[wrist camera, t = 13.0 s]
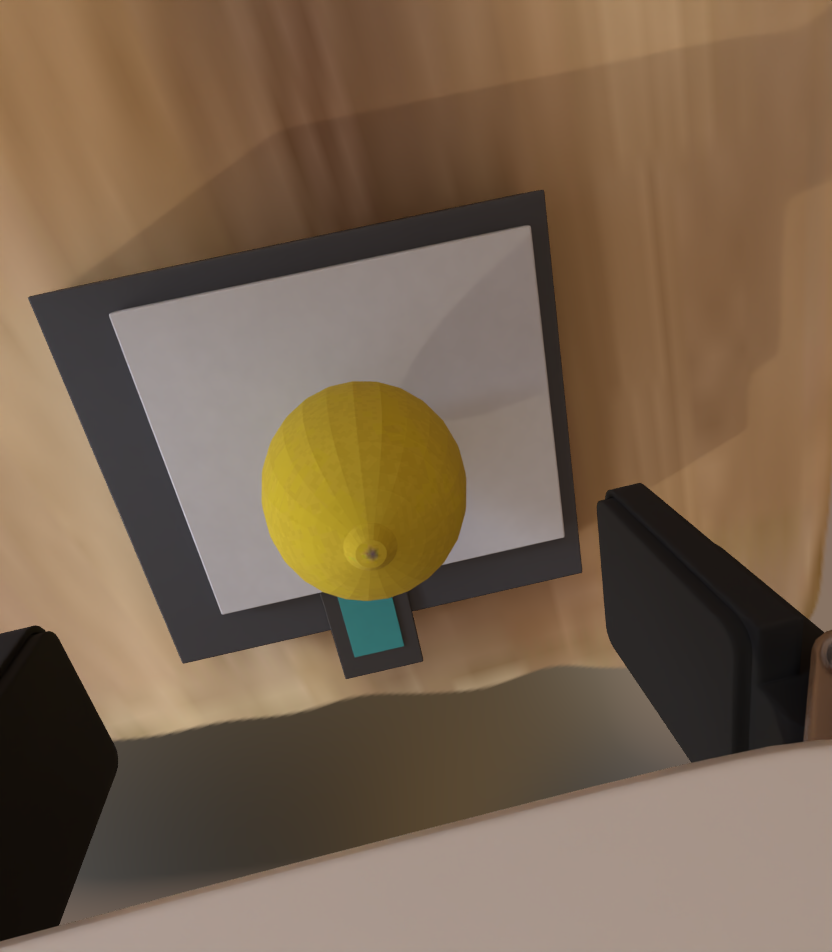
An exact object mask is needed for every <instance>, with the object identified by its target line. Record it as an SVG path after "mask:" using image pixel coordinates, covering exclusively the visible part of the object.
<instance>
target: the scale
mask: <svg viewBox="0 0 832 952" xmlns="http://www.w3.org/2000/svg"><path fill="white" fill-rule="evenodd" d="M28 299H29V301H30V304H31V306H32V308H33V311H34V313H35V316H36V318H37V320H38V323H39V325H40V327H41V330H42V332H43V334H44V337H45V339H46V342H47V344H48V346H49V349H50V351H51V353H52V356H53V358H54V360H55V363H56V365H57V368H58V370H59V372H60V375H61V377H62V379H63V382H64V384H65V386H66V389H67V391H68V394H69V396H70V398H71V401H72V403H73V405H74V408H75V410H76V412H77V415H78V417H79V420H80V422H81V424H82V427H83V429H84V431H85V434H86V436H87V438H88V441H89V443H90V446H91V448H92V450H93V453H94V455H95V457H96V460H97V462H98V464H99V467H100V469H101V472H102V474H103V476H104V479H105V481H106V483H107V486H108V488H109V490H110V493H111V495H112V498H113V500H114V502H115V505H116V507H117V509H118V512H119V514H120V516H121V519H122V521H123V524H124V526H125V528H126V531H127V533H128V535H129V538H130V540H131V542H132V545H133V547H134V550H135V552H136V554H137V557H138V559H139V561H140V564H141V566H142V568H143V571H144V573H145V576H146V578H147V580H148V583H149V585H150V587H151V590H152V592H153V594H154V597H155V599H156V602H157V604H158V606H159V609H160V611H161V613H162V616H163V618H164V620H165V623H166V625H167V628H168V630H169V632H170V635H171V637H172V639H173V642H174V644H175V647H176V649H177V651H178V654H179V656H180V658H181V661H182V663H188V662H192V661H197V660H201V659H206V658H210V657H214V656H219V655H223V654H227V653H232V652H236V651H241V650H245V649H249V648H254V647H258V646H262V645H267V644H271V643H276V642H280V641H284V640H289V639H293V638H298V637H302V636H306V635H311V634H315V633H319V632H324V631H328V630H331V632H332V635H333V638H334V642H335V645H336V648H337V652H338V655H339V658H340V662H341V665H342V668H343V672H344V675H345V678H346V679H349V678H353V677H357V676H362V675H366V674H370V673H375V672H379V671H383V670H388V669H392V668H396V667H401V666H405V665H409V664H414V663H418V662H422V661H423V656H422V652H421V648H420V644H419V639H418V635H417V631H416V626H415V622H414V618H413V613H412V611H416V610H420V609H425V608H429V607H433V606H438V605H442V604H446V603H451V602H455V601H460V600H464V599H468V598H473V597H477V596H482V595H486V594H490V593H495V592H499V591H503V590H508V589H512V588H517V587H521V586H525V585H530V584H534V583H538V582H543V581H547V580H552V579H556V578H560V577H565V576H569V575H574V574H578V573H582V564H581V554H580V544H579V534H578V524H577V514H576V504H575V494H574V484H573V474H572V464H571V454H570V444H569V435H568V425H567V415H566V405H565V395H564V385H563V375H562V365H561V355H560V345H559V335H558V325H557V315H556V305H555V295H554V285H553V275H552V265H551V255H550V245H549V235H548V225H547V215H546V205H545V195H544V190H538V191H532V192H527V193H521V194H517V195H512V196H507V197H502V198H497V199H493V200H488V201H483V202H478V203H473V204H469V205H464V206H459V207H454V208H449V209H445V210H440V211H435V212H430V213H425V214H421V215H416V216H411V217H406V218H401V219H397V220H392V221H387V222H382V223H377V224H373V225H368V226H363V227H358V228H353V229H349V230H344V231H339V232H334V233H329V234H325V235H320V236H315V237H310V238H305V239H301V240H296V241H291V242H286V243H281V244H277V245H272V246H267V247H262V248H257V249H253V250H248V251H243V252H238V253H233V254H229V255H224V256H219V257H214V258H209V259H205V260H200V261H195V262H190V263H185V264H181V265H176V266H171V267H166V268H161V269H157V270H152V271H147V272H142V273H137V274H133V275H128V276H123V277H118V278H113V279H109V280H104V281H99V282H94V283H89V284H85V285H80V286H75V287H70V288H65V289H61V290H56V291H52V292H47V293H43V294H38V295H34V296H30V297H28ZM351 381H373V382H380V383H384V384H388V385H392V386H395V387H399V388H401V389H403V390H405V391H407V392H409V393H410V394H412V395H414V396H416V397H417V398H419V399H421V400H423V401H424V402H425V403H426V404H427V405H428V406H429V407H430V408H431V409H432V410H433V411H434V412H435V413H436V414H437V415H438V416H439V417H440V418H441V419H442V420H443V421H444V423H445V424H446V426H447V428H448V429H449V431H450V433H451V434H452V436H453V438H454V439H455V441H456V443H457V444H458V447H459V450H460V454H461V457H462V461H463V465H464V469H465V472H466V512H465V516H464V519H463V523H462V527H461V530H460V534H459V537H458V540H457V542H456V543H455V545H454V547H453V548H452V550H451V552H450V554H449V555H448V557H447V559H446V560H445V562H444V563H443V564H442V565H441V566H440V567H439V568H438V569H437V570H436V571H435V572H434V573H433V574H432V575H431V576H430V577H429V578H428V579H427V580H425V581H423V582H422V583H420V584H419V585H417V586H416V587H414V588H413V589H411V590H409V591H407V592H404V593H402V594H399V595H396V596H393V597H391V598H387V599H379V600H372V601H361V600H348V599H344V598H340V597H337V596H334V595H331V594H328V593H324V592H322V591H320V590H319V589H317V588H315V587H314V586H312V585H310V584H309V583H307V582H305V581H304V580H303V579H302V578H301V577H300V576H299V575H298V574H297V573H296V572H295V571H294V570H293V569H292V568H291V567H289V566H288V564H287V563H286V562H285V561H284V559H283V558H282V556H281V554H280V553H279V551H278V549H277V548H276V546H275V544H274V543H273V541H272V539H271V537H270V534H269V531H268V527H267V523H266V519H265V515H264V512H263V508H262V469H263V465H264V462H265V459H266V455H267V452H268V449H269V445H270V443H271V440H272V438H273V437H274V435H275V434H276V432H277V431H278V429H279V428H280V426H281V424H282V423H283V421H284V420H285V418H286V417H287V416H288V415H289V414H290V413H291V412H292V411H293V410H294V409H295V408H297V407H298V406H299V405H300V404H301V403H302V402H303V401H304V400H305V399H307V398H308V397H310V396H312V395H314V394H316V393H318V392H320V391H322V390H323V389H325V388H327V387H330V386H334V385H338V384H342V383H347V382H351Z"/></svg>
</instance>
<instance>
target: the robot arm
mask: <svg viewBox="0 0 832 952" xmlns="http://www.w3.org/2000/svg"><path fill="white" fill-rule="evenodd" d="M597 518H598V531H599V543H600V556H601V568H602V581H603V594H604V606H605V619H606V628H607V633H608V636H609V639H610V641H611V644H612V645H613V647H614V649H615V650H616V652H617V653H618V655H619V656H620V658H621V659H622V661H623V662H624V664H625V665H626V667H627V668H628V670H629V671H630V673H631V674H632V675H633V677H634V678H635V680H636V681H637V683H638V684H639V686H640V687H641V689H642V690H643V692H644V693H645V695H646V696H647V698H648V699H649V700H650V702H651V704H652V705H653V706H654V708H655V709H656V711H657V712H658V714H659V715H660V717H661V718H662V720H663V721H664V723H665V724H666V726H667V727H668V729H669V730H670V732H671V733H672V735H673V736H674V738H675V739H676V741H677V742H678V744H679V745H680V746H681V748H682V749H683V751H684V752H685V754H686V755H687V757H688V758H689V760H690V761H691V763H688V764H684V765H679V766H675V767H671V768H667V769H663V770H659V771H655V772H651V773H647V774H643V775H639V776H635V777H631V778H627V779H623V780H618V781H614V782H610V783H606V784H602V785H597V786H593V787H589V788H585V789H581V790H578V791H574V792H570V793H566V794H562V795H558V796H554V797H550V798H547V799H542V800H538V801H534V802H530V803H526V804H523V805H519V806H515V807H511V808H507V809H503V810H499V811H495V812H491V813H487V814H483V815H480V816H476V817H472V818H468V819H464V820H460V821H456V822H452V823H448V824H444V825H440V826H436V827H432V828H428V829H425V830H421V831H417V832H413V833H409V834H405V835H401V836H397V837H394V838H390V839H386V840H382V841H378V842H374V843H370V844H367V845H363V846H359V847H355V848H351V849H347V850H343V851H340V852H336V853H332V854H328V855H324V856H320V857H317V858H313V859H309V860H305V861H301V862H298V863H294V864H290V865H286V866H282V867H278V868H275V869H271V870H267V871H264V872H259V873H256V874H252V875H248V876H244V877H240V878H236V879H233V880H229V881H225V882H222V883H217V884H214V885H210V886H206V887H203V888H198V889H194V890H191V891H187V892H183V893H179V894H176V895H172V896H168V897H165V898H161V899H157V900H153V901H149V902H146V903H142V904H138V905H135V906H131V907H127V908H123V909H120V910H116V911H112V912H108V913H105V914H101V915H97V916H93V917H90V918H86V919H82V920H79V921H75V922H71V923H68V924H63V925H60V926H59V924H60V921H61V918H62V916H63V913H64V910H65V908H66V905H67V902H68V899H69V897H70V895H71V892H72V889H73V886H74V884H75V881H76V879H77V876H78V873H79V870H80V868H81V865H82V862H83V860H84V857H85V854H86V852H87V849H88V846H89V844H90V841H91V838H92V836H93V833H94V830H95V828H96V825H97V822H98V819H99V817H100V814H101V812H102V809H103V806H104V804H105V801H106V798H107V795H108V793H109V790H110V788H111V785H112V782H113V780H114V777H115V774H116V771H117V768H118V755H117V750H116V748H115V746H114V743H113V741H112V740H111V738H110V736H109V734H108V732H107V730H106V728H105V726H104V724H103V722H102V720H101V719H100V717H99V715H98V713H97V711H96V709H95V707H94V705H93V703H92V701H91V700H90V698H89V696H88V694H87V692H86V690H85V688H84V686H83V684H82V682H81V680H80V679H79V677H78V675H77V673H76V671H75V669H74V667H73V665H72V663H71V661H70V659H69V658H68V656H67V654H66V652H65V650H64V648H63V646H62V644H61V642H60V640H59V639H58V637H57V636H56V634H54V633H53V632H50V631H48V632H46V631H45V630H44V629H43V628H41V627H40V626H31V627H27V628H23V629H18V630H14V631H10V632H6V633H2V634H0V952H832V630H830V631H827V632H825V633H824V632H823V631H822V630H821V629H819V628H818V627H817V626H816V625H815V624H813V623H812V622H811V621H810V620H808V619H807V618H806V617H805V616H804V615H802V614H801V613H800V612H799V611H798V610H796V609H795V608H794V607H793V606H792V605H790V604H789V603H788V602H787V601H786V600H784V599H783V598H782V597H781V596H779V595H778V594H777V593H776V592H775V591H773V590H772V589H771V588H770V587H769V586H767V585H766V584H765V583H764V582H763V581H761V580H760V579H759V578H758V577H756V576H755V575H754V574H753V573H752V572H750V571H749V570H748V569H747V568H746V567H744V566H743V565H742V564H741V563H740V562H738V561H737V560H736V559H735V558H733V557H732V556H731V555H730V554H729V553H727V552H726V551H725V550H724V549H723V548H721V547H720V546H718V545H716V544H715V543H713V542H712V541H711V540H710V539H709V538H707V537H706V536H705V535H704V534H703V533H701V532H700V531H699V530H698V529H697V528H695V527H694V526H693V525H692V524H690V523H689V522H688V521H687V520H686V519H684V518H683V517H682V516H681V515H680V514H678V513H677V512H676V511H675V510H674V509H672V508H671V507H670V506H669V505H668V504H666V503H665V502H664V501H663V500H662V499H660V498H659V497H658V496H657V495H656V494H654V493H653V492H652V491H651V490H650V489H648V488H647V487H646V486H645V485H643V484H641V483H637V484H633V485H629V486H625V487H620V488H616V489H612V490H608V491H607V493H606V496H605V500H601V501H599V502H598V503H597Z"/></svg>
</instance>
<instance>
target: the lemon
mask: <svg viewBox="0 0 832 952" xmlns="http://www.w3.org/2000/svg"><path fill="white" fill-rule="evenodd" d="M262 508H263V512H264V515H265V519H266V523H267V527H268V531H269V534H270V537H271V539H272V541H273V543H274V544H275V546H276V548H277V549H278V551H279V553H280V554H281V556H282V558H283V559H284V561H285V562H286V563H287V564H288V566H289V567H291V568H292V569H293V570H294V571H295V572H296V573H297V574H298V575H299V576H300V577H301V578H302V579H303V580H304V581H305V582H307V583H309V584H310V585H312V586H314V587H315V588H317V589H319V590H320V591H322V592H324V593H328V594H331V595H334V596H337V597H340V598H344V599H348V600H361V601H372V600H379V599H387V598H391V597H393V596H396V595H399V594H402V593H404V592H407V591H409V590H411V589H413V588H414V587H416V586H417V585H419V584H420V583H422V582H423V581H425V580H427V579H428V578H429V577H430V576H431V575H432V574H433V573H434V572H435V571H436V570H437V569H438V568H439V567H440V566H441V565H442V564H443V563H444V562H445V560H446V559H447V557H448V555H449V554H450V552H451V550H452V548H453V547H454V545H455V543H456V542H457V540H458V537H459V534H460V530H461V527H462V523H463V519H464V516H465V512H466V472H465V469H464V465H463V461H462V457H461V454H460V450H459V447H458V444H457V443H456V441H455V439H454V438H453V436H452V434H451V433H450V431H449V429H448V428H447V426H446V424H445V423H444V421H443V420H442V419H441V418H440V417H439V416H438V415H437V414H436V413H435V412H434V411H433V410H432V409H431V408H430V407H429V406H428V405H427V404H426V403H425V402H424V401H423V400H421V399H419V398H417V397H416V396H414V395H412V394H410V393H409V392H407V391H405V390H403V389H401V388H399V387H395V386H392V385H388V384H384V383H380V382H373V381H351V382H347V383H342V384H338V385H334V386H330V387H327V388H325V389H323V390H322V391H320V392H318V393H316V394H314V395H312V396H310V397H308V398H307V399H305V400H304V401H303V402H302V403H301V404H300V405H299V406H298V407H297V408H295V409H294V410H293V411H292V412H291V413H290V414H289V415H288V416H287V417H286V418H285V420H284V421H283V423H282V424H281V426H280V428H279V429H278V431H277V432H276V434H275V435H274V437H273V438H272V440H271V443H270V445H269V449H268V452H267V455H266V459H265V462H264V465H263V469H262Z"/></svg>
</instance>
